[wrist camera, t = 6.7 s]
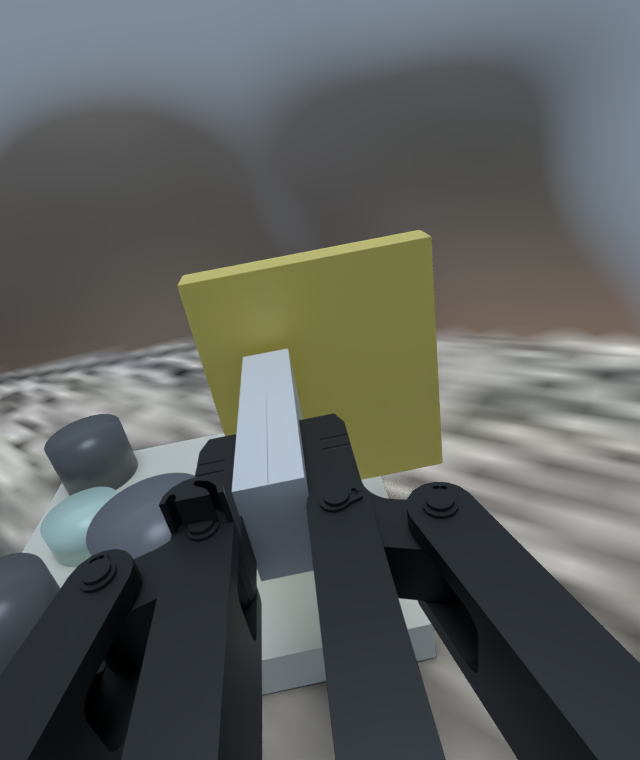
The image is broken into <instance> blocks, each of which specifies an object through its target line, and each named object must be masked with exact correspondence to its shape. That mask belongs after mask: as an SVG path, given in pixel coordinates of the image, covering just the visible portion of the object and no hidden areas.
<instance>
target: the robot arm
mask: <svg viewBox="0 0 640 760" xmlns="http://www.w3.org/2000/svg"><path fill="white" fill-rule="evenodd" d="M159 507H160V509H161V512H162V514H163V516H164V519H165V521H166V523H167V525H168V528H169V530H170V532H171V538H170V541H168V542H167V543H166V544H164V545H162V546H161V547H159V548H157V549H155V550H153V551H151V552H148V553H146V554H144V555H142V556H140V557H137V558H135V559H133V558H132V556H131V555H130V554H129V553H128V552H127V551H125V550H120V549H112V550H106V551H102V552H100V553H98V554H95V555H93V556H91V557H89V558H88V559H87V560H85V561H84V562H82V563H81V564H80V565H78V566H77V568H76V569H75V570H74V571H73V572H72V573H71V574H70V575H69V577H68V578H67V579H66V581H65V582H64V584H63V585H62V587H61V588H60V590H59V591H58V593H57V594H56V595H55V597H54V598H53V600H52V601H51V603H50V604H49V606H48V607H47V609H46V610H45V612H44V613H43V614H42V616H41V617H40V619H39V620H38V622H37V623H36V625H35V626H34V628H33V629H32V630H31V632H30V633H29V635H28V636H27V638H26V639H25V641H24V642H23V644H22V645H21V646H20V648H19V649H18V651H17V652H16V654H15V655H14V657H13V658H12V660H11V661H10V662H9V664H8V665H7V667H6V668H5V670H4V671H3V673H2V674H1V676H0V760H262V602H261V598H260V594H259V591H258V588H257V570H258V573H259V576H260V579H261V581H266V580H271V579H276V578H280V577H285V576H290V575H295V574H300V573H305V572H310V571H314V579H315V587H316V596H317V605H318V613H319V622H320V630H321V639H322V648H323V656H324V665H325V673H326V682H327V691H328V699H329V708H330V717H331V725H332V734H333V742H334V751H335V760H446V759H445V756H444V752H443V749H442V746H441V742H440V739H439V735H438V732H437V728H436V725H435V722H434V718H433V715H432V711H431V708H430V705H429V701H428V698H427V694H426V691H425V687H424V684H423V681H422V677H421V674H420V670H419V667H418V664H417V660H416V657H415V653H414V650H413V646H412V643H411V640H410V636H409V633H408V629H407V626H406V622H405V619H404V616H403V612H402V609H401V605H400V602H399V599H398V598H401V599H410V600H417V601H418V603H419V605H420V607H421V608H422V610H423V612H424V613H425V615H426V616H427V618H428V619H429V621H430V622H431V624H432V626H433V627H434V629H435V630H436V632H437V633H438V635H439V637H440V638H441V640H442V641H443V643H444V644H445V646H446V647H447V649H448V651H449V652H450V654H451V655H452V657H453V658H454V660H455V662H456V663H457V665H458V666H459V668H460V669H461V671H462V673H463V674H464V676H465V677H466V679H467V680H468V682H469V683H470V685H471V687H472V688H473V690H474V691H475V693H476V694H477V696H478V698H479V699H480V701H481V702H482V704H483V705H484V707H485V708H486V710H487V712H488V713H489V715H490V716H491V718H492V719H493V721H494V723H495V724H496V726H497V727H498V729H499V730H500V732H501V734H502V735H503V737H504V738H505V740H506V741H507V743H508V744H509V746H510V748H511V749H512V751H513V752H514V754H515V755H516V757H517V759H518V760H640V663H639V662H638V661H637V660H636V659H635V658H634V657H633V656H632V655H631V654H630V653H629V652H628V651H627V650H626V649H625V648H624V647H623V646H622V645H621V644H620V643H619V642H618V641H617V640H616V639H615V638H614V637H613V636H612V635H611V634H610V633H609V632H608V631H607V630H606V629H605V628H604V627H603V626H602V625H601V624H600V623H599V622H598V621H597V620H596V619H595V618H594V617H593V616H592V615H591V614H590V613H589V612H588V611H587V610H586V609H585V608H584V607H583V606H582V605H581V604H580V603H579V602H578V601H577V600H576V599H575V598H574V597H573V596H572V595H571V594H570V593H569V592H568V591H567V590H566V589H565V588H564V587H563V586H562V585H561V584H560V583H559V582H558V581H557V580H556V579H555V578H554V577H553V576H552V575H551V574H550V573H549V572H548V571H547V570H546V569H545V568H544V567H543V566H542V565H541V564H540V563H539V562H538V561H537V560H536V559H535V558H534V557H533V556H532V555H531V554H530V553H529V552H528V551H527V550H526V549H525V548H524V547H523V546H522V545H521V544H520V543H519V542H518V541H517V540H516V539H515V538H514V537H513V536H512V535H511V534H510V533H509V532H508V531H507V530H506V529H505V528H504V527H503V526H502V525H501V524H500V523H499V522H498V521H497V520H496V519H495V518H494V517H493V516H492V515H491V514H490V513H489V512H488V511H487V510H486V509H485V508H484V507H483V506H482V505H481V504H480V503H479V502H478V501H477V500H476V499H475V498H474V497H473V496H472V495H471V494H470V493H468V492H467V491H465V490H464V489H463V488H461V487H460V486H457V485H454V484H450V483H446V482H433V483H428V484H424V485H422V486H420V487H418V488H417V489H415V490H413V491H412V493H411V494H410V496H409V497H408V498H407V500H398V499H388V498H383V497H380V496H377V495H375V494H373V493H372V492H370V491H369V490H368V489H367V488H366V487H365V486H364V485H363V483H362V481H361V477H360V474H359V471H358V467H357V464H356V460H355V457H354V453H353V450H352V446H351V443H350V439H349V436H348V433H347V429H346V426H345V422H344V421H343V420H342V419H340V418H339V417H338V416H337V415H336V414H334V413H333V414H328V415H323V416H318V417H313V418H308V419H303V416H302V411H301V406H300V402H299V397H298V392H297V388H296V383H295V378H294V374H293V369H292V364H291V360H290V355H289V350H288V349H282V350H277V351H272V352H267V353H262V354H257V355H252V356H247V357H243V363H242V375H241V387H240V399H239V410H238V422H237V434H234V435H229V436H224V437H219V438H214V439H209V440H208V442H207V443H206V444H205V445H204V447H203V448H202V449H201V451H200V452H199V457H198V462H197V467H196V472H195V477H194V478H191V479H188V480H185V481H182V482H181V483H179V484H177V485H175V486H174V487H172V488H171V489H170V490H169V491H168V492H167V493H166V494H165V495H164V496H163V497H162V499H161V501H160V503H159Z"/></svg>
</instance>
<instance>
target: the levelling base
mask: <svg viewBox="0 0 640 760" xmlns="http://www.w3.org/2000/svg"><path fill="white" fill-rule="evenodd" d="M224 436H225V434H224V433H221V434H216V435H211V436H206V437H201V438H196V439H191V440H186V441H181V442H176V443H171V444H166V445H162V446H157V447H152V448H147V449H142V450H137V451H133V450H132V448H131V445H130V443H129V441H128V438H127V436H126V434H125V432H124V429H123V427H122V425H121V422H120V420H119V418H118V417H116V416H114V415H110V414H99V415H93V416H89V417H86V418H83V419H80V420H77V421H75V422H73V423H71V424H69V425H67V426H65V427H63V428H62V429H60V430H59V431H57V432H56V433H55V434H54V435H52V436H51V437H50V438H49V440H48V441H47V443H46V444H45V448H44V450H45V452H46V454H47V456H48V458H49V460H50V461H51V463H52V465H53V467H54V469H55V471H56V472H57V474H58V476H59V478H60V480H61V481H62V484H61V485H60V487H59V489H58V491H57V492H56V494H55V496H54V498H53V499H52V501H51V503H50V505H49V506H48V508H47V510H46V512H45V513H44V515H43V517H42V519H41V520H40V522H39V524H38V526H37V527H36V529H35V531H34V533H33V534H32V536H31V538H30V540H29V541H28V543H27V545H26V547H25V548H24V550H23V552H22V553H16V554H10V555H6V556H3V557H0V676H1V674H2V673H3V671H4V670H5V668H6V667H7V665H8V664H9V662H10V661H11V660H12V658H13V657H14V655H15V654H16V652H17V651H18V649H19V648H20V646H21V645H22V644H23V642H24V641H25V639H26V638H27V636H28V635H29V633H30V632H31V630H32V629H33V628H34V626H35V625H36V623H37V622H38V620H39V619H40V617H41V616H42V614H43V613H44V612H45V610H46V609H47V607H48V606H49V604H50V603H51V601H52V600H53V598H54V597H55V595H56V594H57V593H58V591H59V590H60V588H61V587H62V585H63V584H64V582H65V581H66V579H67V578H68V577H69V575H70V574H71V573H72V572H73V571H74V570H75V569H76V568H77V566H78V565H80V564H81V563H82V562H84V561H85V560H87V559H88V558H89V557H91V554H90V552H89V551H88V549H87V545H86V534H87V530H88V527H89V525H90V523H91V521H92V519H93V518H94V516H95V515H96V513H97V512H98V511H99V510H100V509H101V508H102V507H103V506H104V504H105V503H107V502H108V501H109V500H110V499H111V498H112V497H114V496H115V495H116V494H118V493H119V492H121V491H122V490H124V489H125V488H127V487H129V486H131V485H133V484H135V483H137V482H139V481H141V480H144V479H146V478H150V477H153V476H156V475H160V474H166V473H188V474H192V475H195V472H196V467H197V462H198V457H199V452H200V451H201V449H202V448H203V447H204V445H205V444H206V443H207V442H208V440H209V439H214V438H219V437H224ZM361 481H362V483H363V485H364V486H365V487H366V488H367V489H368V490H369V491H370V492H372V493H373V494H375V495H377V496H380V497H383V498H388V499H389V497H388V495H387V492H386V489H385V486H384V483H383V481H382V478H381V476H378V477H373V478H368V479H363V480H361ZM257 588H258V591H259V594H260V598H261V602H262V695H264V694H269V693H273V692H278V691H282V690H287V689H292V688H296V687H301V686H306V685H310V684H315V683H319V682H324V681H326V673H325V665H324V656H323V648H322V639H321V630H320V622H319V613H318V605H317V596H316V587H315V579H314V571H310V572H305V573H300V574H295V575H290V576H285V577H280V578H276V579H271V580H266V581H261V579H260V576H259V573H258V570H257ZM398 599H399V602H400V605H401V609H402V612H403V616H404V619H405V622H406V626H407V629H408V633H409V636H410V640H411V643H412V646H413V650H414V653H415V657H416V660H417V661H421V660H426V659H430V658H435V657H436V648H435V635H434V627H433V626H432V624H431V622H430V621H429V619H428V618H427V616H426V615H425V613H424V612H423V610H422V608H421V607H420V605H419V603H418V601H417V600H410V599H401V598H398Z"/></svg>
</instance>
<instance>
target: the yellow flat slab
mask: <svg viewBox="0 0 640 760" xmlns="http://www.w3.org/2000/svg"><path fill="white" fill-rule="evenodd" d="M178 289H179V292H180V295H181V299H182V302H183V305H184V308H185V311H186V314H187V318H188V321H189V324H190V327H191V330H192V333H193V336H194V340H195V343H196V346H197V349H198V352H199V355H200V359H201V362H202V365H203V368H204V371H205V374H206V378H207V381H208V384H209V387H210V390H211V393H212V396H213V400H214V403H215V406H216V409H217V412H218V415H219V419H220V422H221V425H222V428H223V431H224V434H225V436H229V435H234V434H237V422H238V410H239V399H240V387H241V375H242V363H243V357H247V356H252V355H257V354H262V353H267V352H272V351H277V350H282V349H288V350H289V355H290V360H291V364H292V369H293V374H294V378H295V383H296V388H297V392H298V397H299V402H300V406H301V411H302V416H303V419H308V418H313V417H318V416H323V415H328V414H333V413H334V414H336V415H337V416H338V417H339V418H340V419H342V420H343V421H344V422H345V426H346V429H347V433H348V436H349V439H350V443H351V446H352V450H353V453H354V457H355V460H356V464H357V467H358V471H359V474H360V477H361V480H363V479H368V478H373V477H378V476H383V475H388V474H393V473H397V472H402V471H407V470H412V469H417V468H422V467H427V466H432V465H436V464H441V463H442V443H441V423H440V403H439V382H438V362H437V342H436V322H435V302H434V282H433V260H432V240H431V236H429V235H428V234H426V233H424V232H422V231H421V230H417V231H411V232H406V233H401V234H396V235H390V236H385V237H380V238H375V239H370V240H364V241H359V242H354V243H349V244H344V245H339V246H334V247H328V248H323V249H318V250H313V251H307V252H302V253H297V254H292V255H287V256H282V257H276V258H272V259H266V260H261V261H256V262H251V263H245V264H240V265H235V266H230V267H225V268H219V269H214V270H209V271H204V272H199V273H193V274H189V275H183V277H182V278H181V280H180V282H179V284H178ZM194 477H195V475H192V474H188V473H166V474H160V475H156V476H153V477H150V478H146V479H144V480H141V481H139V482H137V483H135V484H133V485H131V486H129V487H127V488H125V489H124V490H122V491H121V492H119V493H118V494H116V495H115V496H114V497H112V498H111V499H110V500H109V501H108V502H107V503H105V504H104V506H103V507H102V508H101V509H100V510H99V511H98V512H97V513H96V515H95V516H94V518H93V519H92V521H91V523H90V525H89V527H88V530H87V534H86V545H87V549H88V551H89V552H90V554H91V556H93V555H95V554H98V553H100V552H102V551H106V550H112V549H120V550H125V551H127V552H128V553H129V554H130V555H131V556H132V558H133V559H135V558H137V557H140V556H142V555H144V554H146V553H148V552H151V551H153V550H155V549H157V548H159V547H161V546H162V545H164V544H166V543H167V542H168V541H170V538H171V532H170V530H169V528H168V525H167V523H166V521H165V519H164V516H163V514H162V512H161V509H160V507H159V503H160V501H161V499H162V497H163V496H164V495H165V494H166V493H167V492H168V491H169V490H170V489H171V488H172V487H174V486H175V485H177V484H179V483H181V482H182V481H185V480H188V479H191V478H194Z"/></svg>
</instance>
